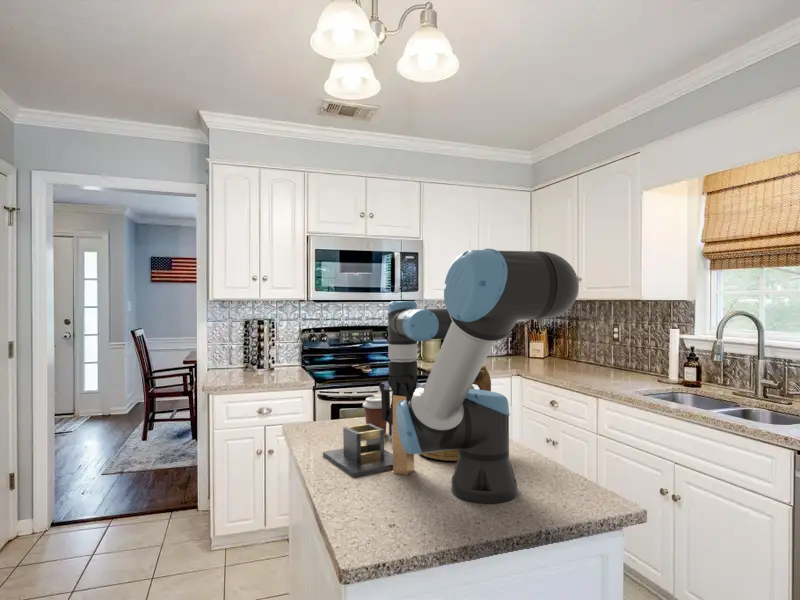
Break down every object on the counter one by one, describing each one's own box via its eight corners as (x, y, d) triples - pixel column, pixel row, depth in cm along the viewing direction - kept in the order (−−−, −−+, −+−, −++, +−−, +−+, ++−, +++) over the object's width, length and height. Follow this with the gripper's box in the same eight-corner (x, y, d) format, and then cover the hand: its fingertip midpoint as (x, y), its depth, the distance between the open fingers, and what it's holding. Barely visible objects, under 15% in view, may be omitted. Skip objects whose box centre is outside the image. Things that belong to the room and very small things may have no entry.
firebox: (407, 465, 130) (406, 432, 130) (353, 477, 121) (353, 441, 121) (372, 447, 147) (371, 417, 147) (323, 456, 138) (322, 424, 138)
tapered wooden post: (413, 470, 126) (413, 393, 126) (406, 475, 123) (405, 396, 123) (400, 467, 128) (400, 392, 128) (392, 472, 125) (392, 395, 125)
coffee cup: (357, 433, 162) (357, 398, 162) (379, 429, 168) (379, 394, 168) (372, 439, 155) (372, 402, 155) (395, 435, 160) (395, 398, 160)
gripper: (438, 360, 125) (439, 450, 125) (382, 357, 133) (382, 441, 133) (426, 363, 118) (426, 458, 118) (367, 359, 127) (368, 449, 126)
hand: (403, 449), depth 126 cm, fingers closed on tapered wooden post, 4 cm apart
